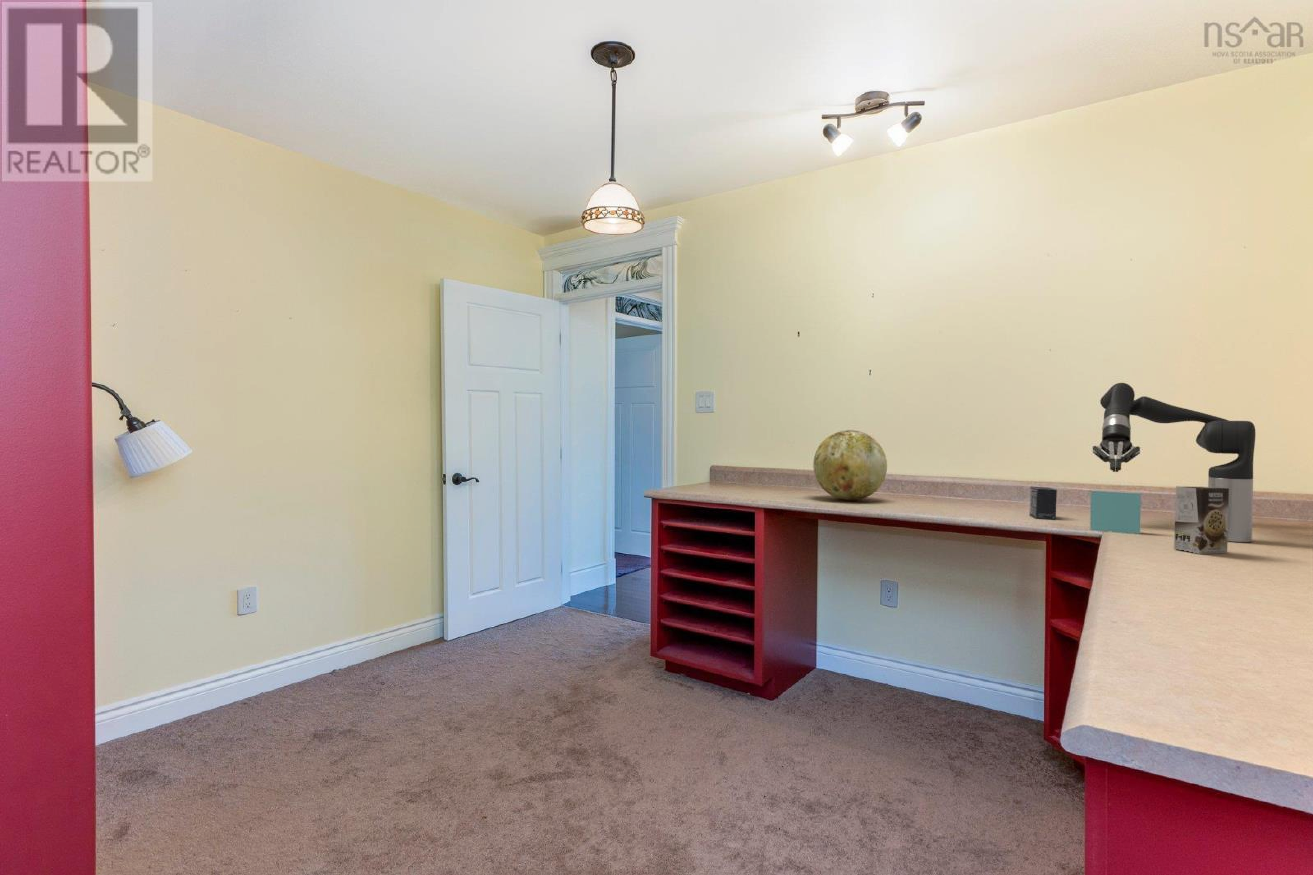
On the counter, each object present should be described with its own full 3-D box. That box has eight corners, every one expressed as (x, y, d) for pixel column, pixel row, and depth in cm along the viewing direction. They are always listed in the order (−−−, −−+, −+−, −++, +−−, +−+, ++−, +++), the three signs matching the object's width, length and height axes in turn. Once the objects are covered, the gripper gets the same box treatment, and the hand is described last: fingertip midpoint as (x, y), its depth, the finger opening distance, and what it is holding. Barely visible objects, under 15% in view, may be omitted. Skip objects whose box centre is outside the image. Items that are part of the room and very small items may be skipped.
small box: (1057, 520, 212) (1058, 489, 212) (1035, 519, 214) (1036, 488, 214) (1049, 516, 222) (1050, 487, 221) (1028, 515, 224) (1029, 486, 224)
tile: (1090, 528, 193) (1091, 489, 193) (1139, 532, 185) (1140, 492, 185) (1090, 530, 189) (1090, 490, 189) (1140, 534, 182) (1140, 493, 182)
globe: (800, 500, 265) (801, 429, 264) (831, 495, 287) (832, 430, 287) (869, 506, 245) (870, 430, 245) (897, 500, 267) (898, 431, 267)
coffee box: (1200, 554, 151) (1201, 488, 151) (1172, 549, 157) (1174, 485, 157) (1229, 553, 153) (1230, 487, 153) (1200, 548, 159) (1202, 485, 159)
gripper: (1141, 439, 204) (1141, 479, 195) (1092, 438, 212) (1090, 477, 203) (1141, 423, 200) (1142, 462, 190) (1091, 423, 208) (1089, 461, 198)
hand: (1115, 470), depth 196 cm, fingers closed
